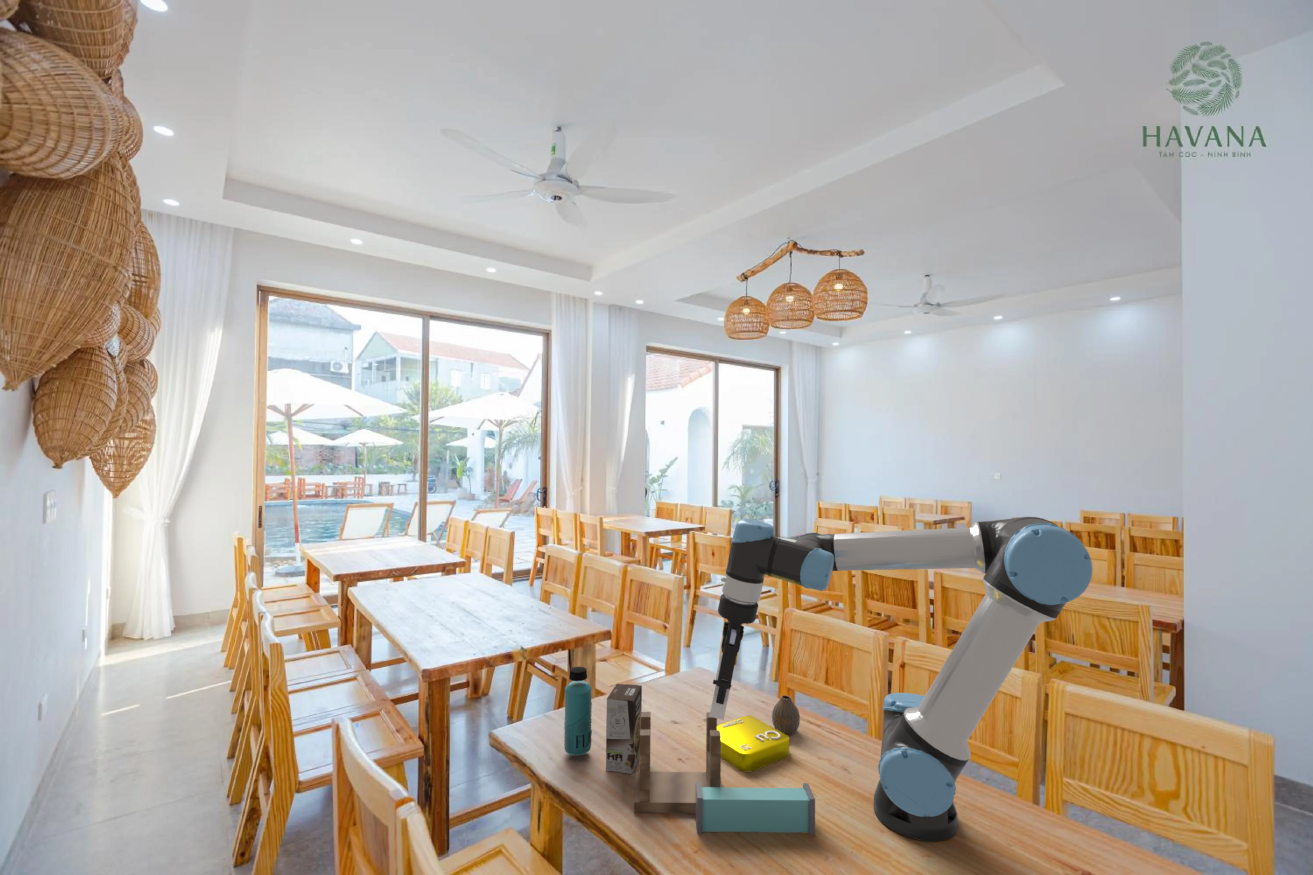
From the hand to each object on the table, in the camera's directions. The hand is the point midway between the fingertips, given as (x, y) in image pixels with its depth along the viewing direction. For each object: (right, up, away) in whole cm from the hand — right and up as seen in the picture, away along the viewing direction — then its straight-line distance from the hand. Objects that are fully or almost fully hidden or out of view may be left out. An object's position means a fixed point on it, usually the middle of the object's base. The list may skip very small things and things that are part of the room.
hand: (718, 700), depth 120 cm
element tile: (+9, -23, +23) cm, 34 cm away
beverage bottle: (-31, -22, +20) cm, 43 cm away
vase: (+20, -22, +32) cm, 44 cm away
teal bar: (+6, -22, -5) cm, 23 cm away
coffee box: (-20, -22, +17) cm, 34 cm away
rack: (-8, -22, +4) cm, 23 cm away
